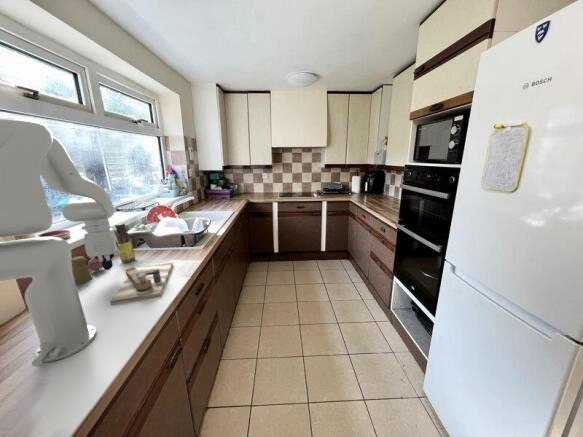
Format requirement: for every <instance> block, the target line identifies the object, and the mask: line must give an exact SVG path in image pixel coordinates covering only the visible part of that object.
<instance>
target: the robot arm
mask: <svg viewBox="0 0 583 437" xmlns="http://www.w3.org/2000/svg"><path fill="white" fill-rule="evenodd" d="M42 179H43V180H44V182H45V184H46V185H47V186H48V187H49V188H50V189H52V190H54V191H58V192H60V193H61V192H62V193H66V194H70V195H74V196H75V195H76V196H81V197H84V198H81V199H80V200H73V201H69V202H67V203H66V204H64V206H63V207H62V213H61V214H62V216H63V217H64V218H65V220H67V221H69V222H73V223H74V222H75V223H78V222H84V225H83V226H81V229H82V231H83V230H84V231H85V232H84V237H83V238H84V248H85V253H86V256H87V257H88V258H89V259H92V258H96V259H98V260H99V261H100V262H102V266H103V267H102V268H103V269H104V271H109V270H111V269H112V267H113V266H114V264H113V261H112V259H113V257H115V256H120V255H119V254H120V251H119V244H118V241H117V238H116V236H117V234H116V233H115V231H114V230H113V228H111V225H110V222H109V219H110V218H112V217H114V216H113V215H114V214H115V206H114V204H113V201H112V200H111V197H110V196H109V193H108V192H107V191H106V190H105V189H104V188H103V187H102V186H101V185H99V184H98V183H96V182H95V181H93V180H90V179H89V178H86V177H84V176H82V175H81V174H80V172H79V171H78V169H77V167H76V166H75V164H74V162H73V160H72V159H71V157H70V155H69V154H68V152H67V150H66V148H65V147H64V145H63V143H62V142H61V141H60V140H59V139H58V138H56V137H55V136H53V134H52V131H51V130H50V129H49V128H48V126H46V125H45V124H42V123H40V122H37V121H34V120H24V119H23V120H22V119H9V118H8V119H4V118H3V119H0V238H1V239H2V238H9V237H11V238H12V237H19V236H27V235H34V234H39V233H42V232H46V231H47V230H49V229H50V228H51V227H52V224H53V215H52V211H51V208H50V205H49V202H48V200H47V196H46V193H45V189H44V187H43V183H42ZM71 248H72V247H71V246H70V243H69V242H68V241H67V240H66V239H63V238H60V237H57V236H56V237H55V236H40V237H30V238H21V239H14V240H5V241H1V240H0V282H3V281H4V282H5V281H10V280H19V279H26V278H31V280H32V281H31V282H30V284H29V285H28V287H27V288H26V290H25V293H24V299H25V303H26V305H27V308H28V311H29V314H30V317H31V320H32V323H33V326H34V328H35V331H36V334H37V338H38V340H39V342H40V344H39V345H38V347H37V349H36V350H35V351H34V352H35V353H34V355H35V358H34V359H33V360H32V361H31V365H32V366H33V367H40V366H41V365H42V364H43V363H46V362H47V363H49V362H50V363H51V362H54V361H59V360H62V359H64V358H68V357H70V356H72V355H75V354H76V353H78V352H79V351H81V350H83V349H84V348H86V347H87V346H89V344H91V343H92V341H93V340H94V339H95V337H96V336H97V329H96V327H95V326H93V325H89V324H88V323H87V319H86V316H85V313H84V309H83V305H82V303H81V298H80V294H79V291H78V288H77V284H75V280H74V276H73V266H72V258H73V257H72V249H71Z"/></svg>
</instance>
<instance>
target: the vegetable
mask: <svg viewBox="0 0 583 437" xmlns="http://www.w3.org/2000/svg"><path fill="white" fill-rule="evenodd" d="M87 268H88V269H90V270H92V271H95V272H98V271H100V270H101V269H102V268H103V266H102V262H100V261H99V260H98V259H96V258H90V260H89V261H88V262H87Z"/></svg>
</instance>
